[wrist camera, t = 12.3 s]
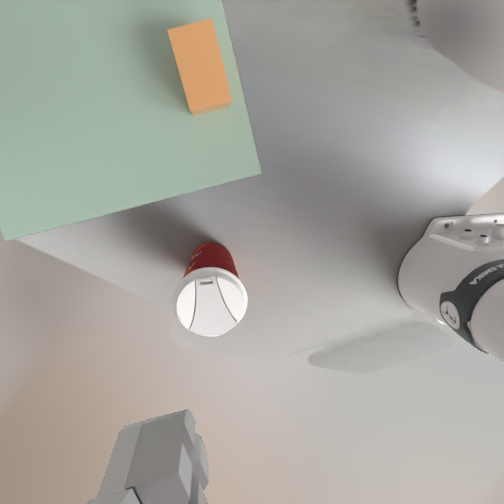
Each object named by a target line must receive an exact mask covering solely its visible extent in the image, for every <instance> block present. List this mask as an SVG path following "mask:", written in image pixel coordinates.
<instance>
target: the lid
mask: <svg viewBox="0 0 504 504" xmlns="http://www.w3.org/2000/svg"><path fill="white" fill-rule="evenodd" d="M259 174H262V172H261V168H260V164H259V159H258V155H257V151H256V146H255V142H254V138H253V133H252V129H251V125H250V120H249V116H248V112H247V108H246V103H245V99H244V95H243V90H242V86H241V82H240V77H239V73H238V69H237V64H236V60H235V56H234V51H233V47H232V43H231V38H230V34H229V30H228V25H227V21H226V17H225V13H224V8H223V4H222V0H0V231H1V233H2V235H3V237H4V239H5V241H9V240H12V239H16V238H20V237H24V236H28V235H31V234H35V233H39V232H43V231H47V230H50V229H54V228H58V227H62V226H66V225H69V224H73V223H77V222H81V221H84V220H88V219H92V218H96V217H100V216H103V215H107V214H111V213H115V212H119V211H122V210H126V209H130V208H134V207H137V206H141V205H145V204H149V203H153V202H156V201H160V200H164V199H168V198H172V197H175V196H179V195H183V194H187V193H191V192H194V191H198V190H202V189H206V188H209V187H213V186H217V185H221V184H225V183H228V182H232V181H236V180H240V179H244V178H247V177H251V176H255V175H259Z"/></svg>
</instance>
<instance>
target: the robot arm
mask: <svg viewBox="0 0 504 504" xmlns="http://www.w3.org/2000/svg"><path fill="white" fill-rule="evenodd" d="M445 224H447V225H446V227H445V228H444V226H445ZM398 285H399V290H400V293H401V295H402V297H403V299H404V300H405V302H406V303H407V304H408V305H409V306H411V307H412V308H414V309H416V310H418V311H421V312H423V313H426V314H428V315H430V316H431V317H433V318H434V319H435V320H436V321H438V322H439V323H441V324H446V325H447V326H449V327H451V328H452V329H453V330H454V331H455V332H456V333H457V334H458V335H460V336H461V337H462V338H463V339H465V340H466V341H467V342H469V343H470V344H471V345H472V346H474V347H475V348H477V349H479V350H480V351H482V352H485V353H488V354H490V355H491V356H493V357H494V358H495V359H497V360H498V361H499V362H501V363H502V364H503V365H504V213H494V214H481V215H467V216H453V217H440V218H435V219H433V220H432V221H431V222H430V224H429V226H428V227H427V229H426V231H425V233H424V235H423V237H422V238H421V239H420V240H419V241H418V242H417V243H416V244H415V245H414V246H413V247H412V248H411V249H410V251H409V252H408V253H407V255H406V256H405V258H404V260H403V262H402V264H401V267H400V271H399V277H398ZM207 484H208V461H207V454H206V449H205V445H204V443H203V440H202V437H201V436H200V435H198V434H196V433H195V420H194V418H193V415H192V413H191V411H190V410H188V409H187V410H183V411H179V412H175V413H171V414H167V415H163V416H159V417H155V418H151V419H147V420H146V421H141V422H137V423H134V424H129V425H125V426H124V427H123V428H122V429H121V430H120V432H119V434H118V437H117V440H116V443H115V446H114V449H113V452H112V455H111V458H110V461H109V464H108V467H107V470H106V473H105V476H104V479H103V482H102V484H101V487H100V490H99V494H98V496H97V498H96V499H92V500H89V502H88V503H87V504H208V502H207V499H206V497H205V494H204V492H203V490H204V489H205V487H206V485H207Z"/></svg>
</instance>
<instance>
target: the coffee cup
mask: <svg viewBox="0 0 504 504" xmlns="http://www.w3.org/2000/svg"><path fill="white" fill-rule="evenodd" d="M173 308H174V311H175V314H176V316H177V318H178V319H179V320H180V322H181V323H182V324H183V326H184V327H185V328H186V329H188V330H190V331H192V332H194V333H196V334H199V335H202V336H207V337H214V336H219V335H222V334H224V333H226V332H228V331H229V330H230V329H232V328H233V327H234V326H235V325H236V324H237V323H239V321H240V320H241V319H242V317H243V316H244V314H245V311H246V308H247V293H246V290H245V287H244V285H243V284H242V282H241V281H240V280H239V277H238V274H237V271H236V268H235V265H234V262H233V259H232V257H231V255H230V253H229V251H228V250H227V249H226V248H225V247H224V246H223V245H221V244H218V243H205V244H203V245H201V246H200V247H198V248H197V249H196V250H195V252H194V254H193V256H192V258H191V260H190V262H189V265H188V267H187V270H186V272H185V275H184V277H183V279H182V280H181V281H180V282H179V284H178V285H177V287H176V289H175V291H174V295H173Z"/></svg>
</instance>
